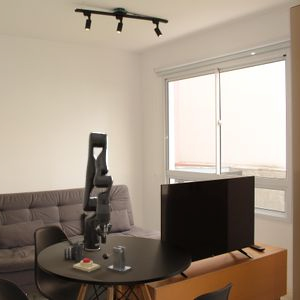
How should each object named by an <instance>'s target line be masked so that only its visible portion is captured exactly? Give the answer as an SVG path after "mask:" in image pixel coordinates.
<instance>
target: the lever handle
mask: <svg viewBox="0 0 300 300" xmlns="http://www.w3.org/2000/svg"><path fill="white" fill-rule="evenodd" d="M119 249H121V253H122V252H123V251H122V248H119ZM111 256H113V252H110V253H103V254H102V259H104V260H106V261H107V260H108V259H109V257H111Z"/></svg>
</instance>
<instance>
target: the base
mask: <svg viewBox="0 0 300 300" xmlns="http://www.w3.org/2000/svg"><path fill="white" fill-rule="evenodd" d="M119 248H122V251H123V252H122V253H121V249H119ZM112 253H113V255H112V265H110V266H107V267H106V269H109V270H113V271H115V272H116V271H117V272H119V273H120V272H121V273H124V272H126V271H129V270H131V269H132V267H131V266H127V265H126V247H125V246H121V245H117V246H116V247H112Z"/></svg>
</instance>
